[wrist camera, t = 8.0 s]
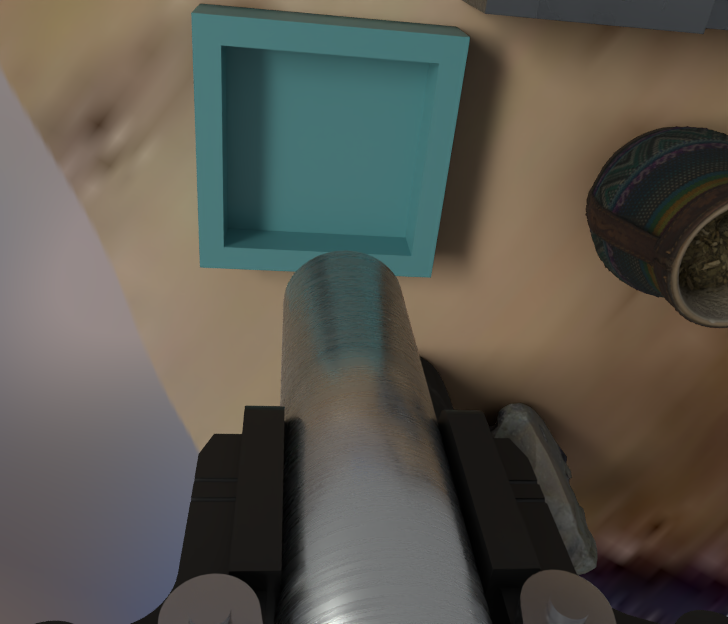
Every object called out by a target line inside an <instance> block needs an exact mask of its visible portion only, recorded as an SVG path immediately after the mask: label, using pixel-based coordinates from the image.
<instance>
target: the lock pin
mask: <svg viewBox="0 0 728 624" xmlns="http://www.w3.org/2000/svg"><path fill="white" fill-rule="evenodd" d="M280 406H285V417H284V468H283V518H282V569H281V590H280V601H279V603H278V605H277V608H276V611H275V617H274V624H492V620H491V617H490V613H489V609H488V606H487V602H486V598H485V595H484V591H483V587H482V584H481V580H480V576H479V573H478V569H477V565H476V562H475V558H474V554H473V551H472V547H471V543H470V540H469V536H468V532H467V529H466V525H465V521H464V518H463V514H462V510H461V507H460V503H459V499H458V496H457V492H456V488H455V485H454V481H453V477H452V474H451V470H450V466H449V463H448V459H447V455H446V452H445V448H444V444H443V441H442V437H441V434H440V430H439V426H438V423H437V419H436V415H435V412H434V408H433V404H432V401H431V397H430V393H429V390H428V386H427V382H426V379H425V375H424V371H423V368H422V364H421V360H420V357H419V353H418V349H417V346H416V342H415V338H414V335H413V331H412V327H411V324H410V320H409V316H408V313H407V309H406V305H405V302H404V298H403V294H402V291H401V287H400V284H399V282H398V280H397V278H396V276H395V275H394V273H393V272H392V271H391V270H390V268H388V267H387V266H386V265H385V264H384V263H383V262H381V261H380V260H378V259H376V258H375V257H373V256H370V255H368V254H365V253H361V252H357V251H334V252H329V253H325V254H322V255H319V256H317V257H315V258H313V259H311V260H309V261H308V262H307V263H305V264H304V265H302V266H301V267H300V268H299V269H298V270H297V271H296V272H295V274H294V275H293V276H292V278H291V279H290V281H289V283H288V285H287V287H286V291H285V294H284V302H283V335H282V368H281V402H280Z"/></svg>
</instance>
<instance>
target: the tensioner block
mask: <svg viewBox="0 0 728 624" xmlns="http://www.w3.org/2000/svg"><path fill="white" fill-rule="evenodd" d="M463 1H464V2H466V3H468V4H469V5H471V6H473V7H474V8H476V9H478V10H480V11H481V12H483V13H485V14H495V15H505V16H516V17H527V18H537V19H548V20H559V21H570V22H580V23H591V24H602V25H613V26H623V27H634V28H645V29H656V30H666V31H677V32H688V33H699V34H704V31H705V28H711V29H721V30H728V0H463Z"/></svg>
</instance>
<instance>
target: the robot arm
mask: <svg viewBox="0 0 728 624" xmlns="http://www.w3.org/2000/svg"><path fill="white" fill-rule="evenodd" d="M284 417H285V406H245V411H244V421H243V431H242V434H214V435H213V436H212V437H211V439H210V440H209V441H208V443H207V444H206V445H205V447H204V448H203V449H202V450H201V452H200V453H199V456H198V461H197V467H196V473H195V481H194V484H193V490H192V496H191V502H190V507H189V513H188V519H187V525H186V530H185V537H184V542H183V548H182V554H181V559H180V565H179V571H178V576H177V579H176V582H175V585H174V587H173V589H172V591H171V592H170V594H169V595H168V597H167V598H166V599H165V600H164V601H163V603H162V604H161V605H160V606H159V607H158V608H156V609H155V610H154V611H153V612H151V613H150V614H148V615H147V616H145V617H144V618H142V619H140V620H138V621H136V622H134V623H131V624H274V617H275V611H276V608H277V605H278V603H279V601H280V590H281V569H282V518H283V468H284ZM438 426H439V430H440V434H441V437H442V441H443V444H444V448H445V452H446V455H447V459H448V463H449V466H450V470H451V474H452V477H453V481H454V485H455V488H456V492H457V496H458V499H459V503H460V507H461V510H462V514H463V518H464V521H465V525H466V529H467V532H468V536H469V540H470V543H471V547H472V551H473V554H474V558H475V562H476V565H477V569H478V573H479V576H480V580H481V584H482V587H483V591H484V595H485V598H486V602H487V606H488V609H489V613H490V617H491V620H492V624H659V623H655V622H651V621H648V620H644V619H641V618H637V617H634V616H630V615H627V614H625V613H622V612H620V611H617V610H615V609H613V608H611V606H610V604H609V602H608V601H607V599H606V598H605V597H604V595H603V594H602V593H601V592H600V591H599V590H598V589H597V588H596V587H595V586H594V585H592V584H591V583H590V582H588V581H587V580H585V579H584V578H582V577H580V576H578V575H577V573H576V571H575V568H574V566H573V564H572V561H571V559H570V557H569V554H568V552H567V549H566V547H565V545H564V542H563V540H562V537H561V535H560V533H559V530H558V528H557V525H556V523H555V521H554V518H553V516H552V514H551V511H550V509H549V506H548V504H547V503H545V497H544V494H543V492H542V490H541V487H540V485H539V484H537V478H536V475H535V473H534V471H533V468H532V466H531V463H530V461H529V459H528V457H527V456H526V455H525V454H524V453H523V452H522V451H521V450H520V449H519V448H518V447H517V446H516V445H515V444H514V443H513V441H512V440H511V439H510V438H493V437H492V434H491V431H490V428H489V426H488V423H487V420H486V418H485V415H484V413H483V412H482V411H480V410H442V411H441V413H440V416H439V420H438ZM36 624H72V623H69V622H65V621H46V622H41V623H36ZM675 624H728V617H727V616H724V615H722V614H719V613H716V612H712V611H705V610H695V611H690V612H688V613H685V614H683V615H682V616H681V617H680V618H679V619H678V620H677V622H676V623H675Z"/></svg>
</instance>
